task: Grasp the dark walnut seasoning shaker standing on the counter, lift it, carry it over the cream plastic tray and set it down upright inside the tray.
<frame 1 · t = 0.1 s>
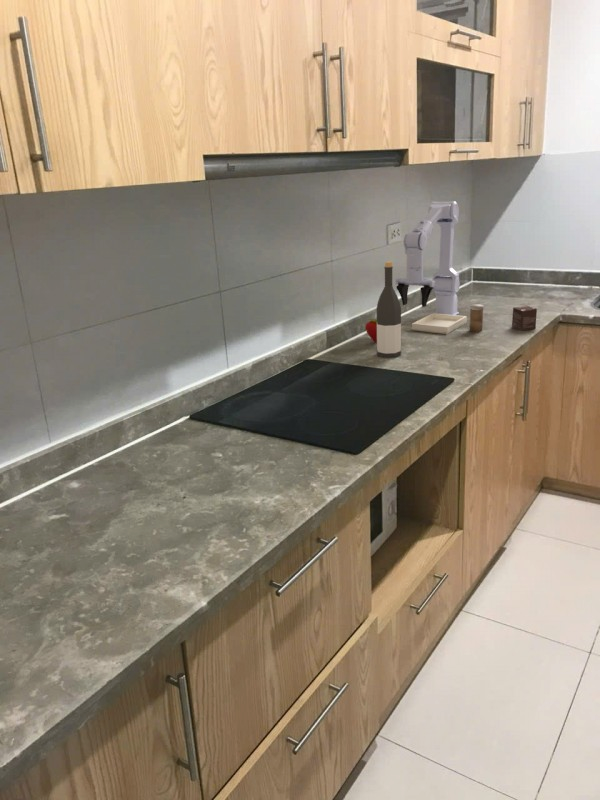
hand: (414, 305, 231), 10 cm above the counter, fingers open, 7 cm apart
tray: (439, 326, 241), on the counter
box: (523, 328, 233), on the counter
shaker: (475, 330, 233), on the counter
wine bottle: (388, 355, 211), on the counter
strawberry: (375, 343, 225), on the counter
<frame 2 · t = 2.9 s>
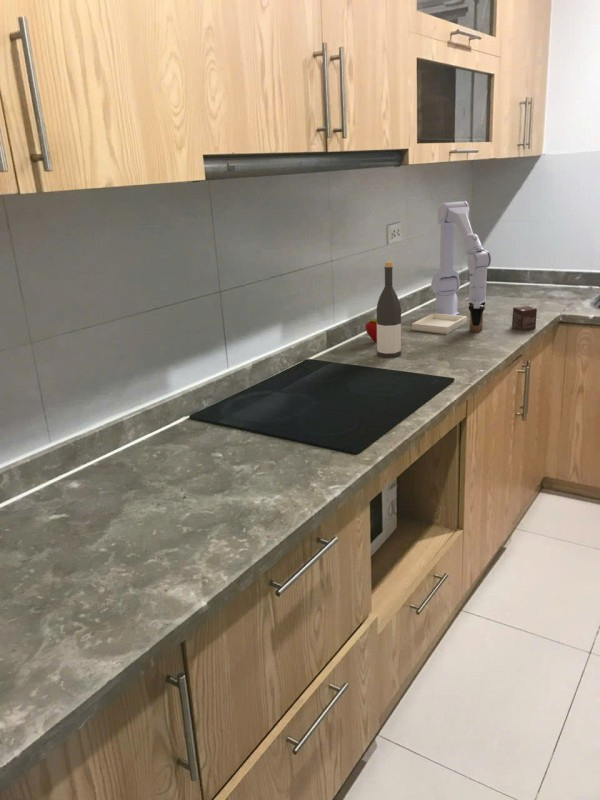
hand: (476, 323, 232), 2 cm above the counter, fingers closed on shaker, 4 cm apart
shaker: (475, 330, 233), on the counter, touching gripper
everything else where it was.
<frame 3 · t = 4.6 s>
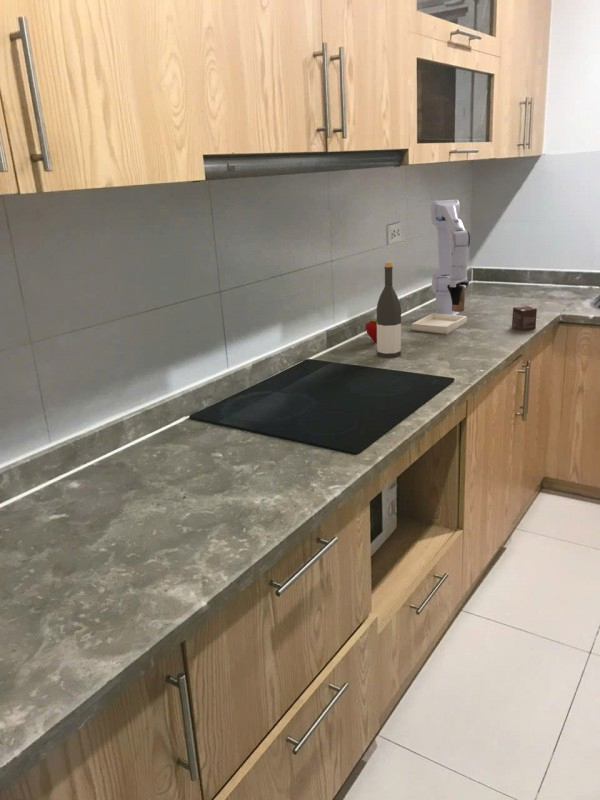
hand: (457, 303, 234), 9 cm above the counter, fingers closed on shaker, 4 cm apart
shaker: (457, 310, 235), point 7 cm above the counter, touching gripper
everything else where it was.
when the fingers open (4 cm above the counter, at t = 6.8 s): shaker drops 1 cm, resting on tray.
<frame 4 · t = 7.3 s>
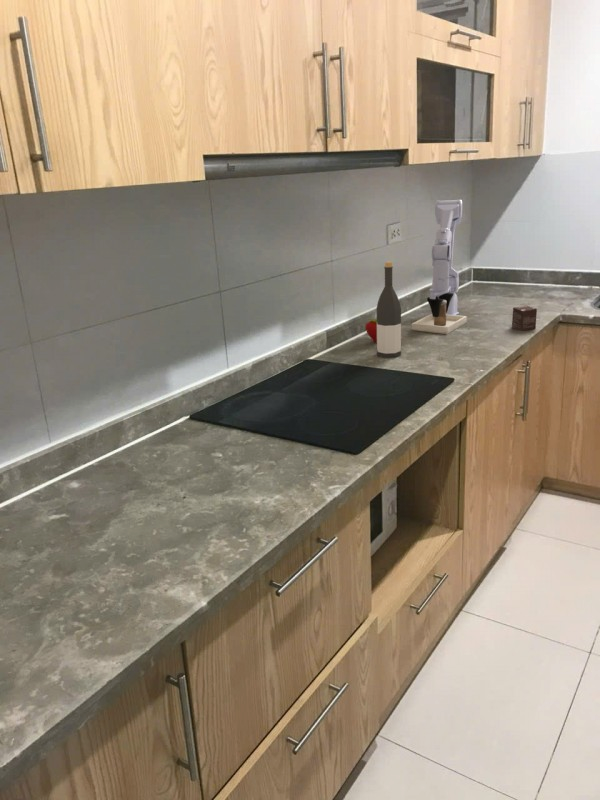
hand: (439, 314, 239), 5 cm above the counter, fingers open, 7 cm apart
shaker: (440, 324, 240), point 1 cm above the counter, touching tray
everything else where it was.
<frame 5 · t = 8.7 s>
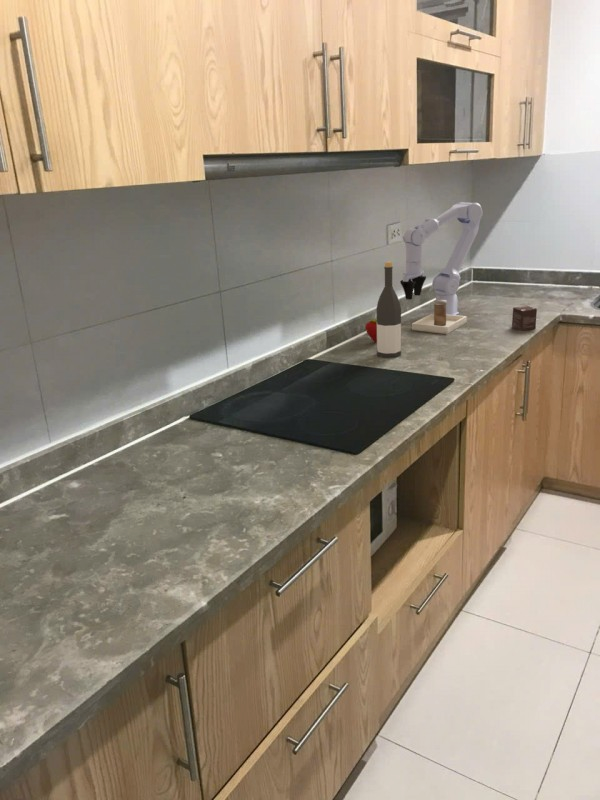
hand: (413, 297, 247), 9 cm above the counter, fingers open, 7 cm apart
nothing on the counter moved.
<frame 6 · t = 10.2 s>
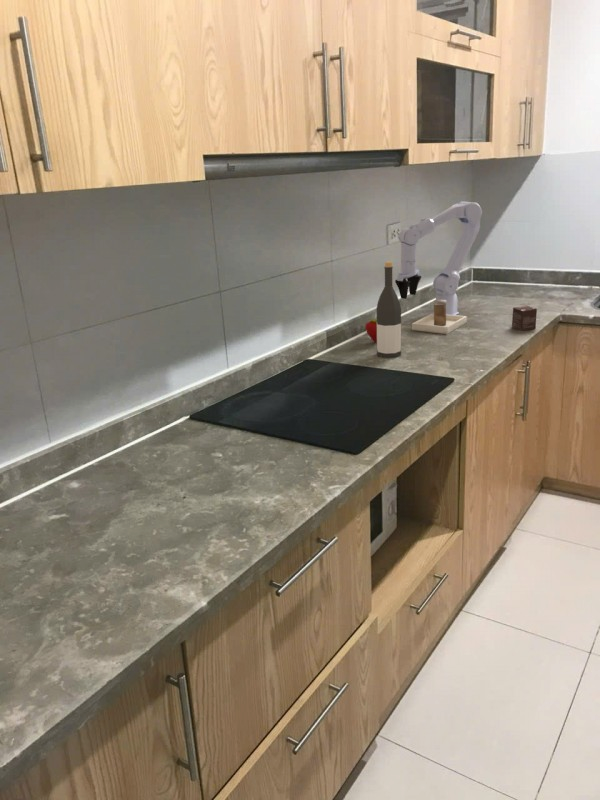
hand: (408, 296, 249), 9 cm above the counter, fingers open, 7 cm apart
nothing on the counter moved.
at the end: shaker inside the target area on the tray (0.1 cm from its centre), point 0.6 cm above the tray's base; shaker tilted 1°; the gripper is holding nothing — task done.
